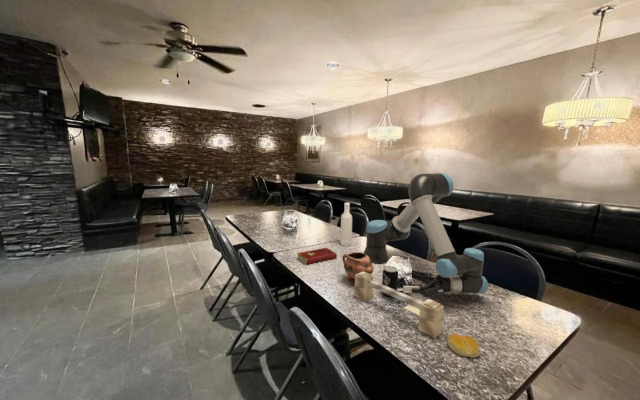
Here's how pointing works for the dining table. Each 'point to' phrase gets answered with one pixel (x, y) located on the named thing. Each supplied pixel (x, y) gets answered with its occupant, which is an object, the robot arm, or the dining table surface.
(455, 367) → the dining table surface
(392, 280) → the beverage can
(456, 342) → the bread roll
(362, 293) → the handrail
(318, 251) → the hardcover book
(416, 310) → the pad
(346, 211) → the bottle
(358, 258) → the brown sculpted mug
